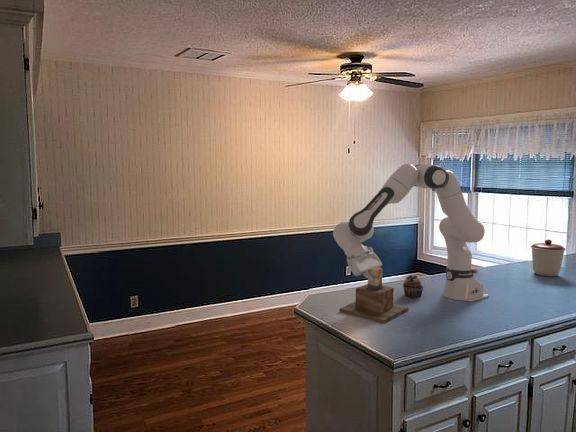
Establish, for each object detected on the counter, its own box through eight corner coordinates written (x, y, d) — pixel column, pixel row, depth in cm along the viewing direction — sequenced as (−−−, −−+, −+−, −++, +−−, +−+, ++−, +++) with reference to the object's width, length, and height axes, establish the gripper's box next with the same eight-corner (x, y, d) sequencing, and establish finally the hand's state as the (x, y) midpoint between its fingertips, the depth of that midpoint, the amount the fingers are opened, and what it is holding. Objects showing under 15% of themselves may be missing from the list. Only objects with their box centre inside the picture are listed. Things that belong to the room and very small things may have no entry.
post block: (365, 300, 220) (365, 279, 219) (408, 310, 206) (409, 287, 205) (339, 311, 203) (339, 288, 202) (384, 323, 189) (385, 298, 188)
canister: (564, 273, 277) (566, 238, 275) (563, 280, 262) (566, 243, 259) (530, 269, 287) (532, 236, 284) (527, 275, 271) (529, 240, 269)
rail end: (372, 290, 207) (373, 266, 205) (381, 292, 204) (382, 268, 203) (367, 292, 203) (368, 268, 202) (376, 294, 200) (377, 270, 199)
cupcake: (422, 299, 222) (423, 279, 221) (401, 297, 226) (402, 277, 224) (423, 294, 231) (424, 274, 230) (403, 292, 235) (404, 273, 233)
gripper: (349, 253, 198) (368, 279, 193) (373, 247, 214) (391, 271, 208) (340, 262, 201) (359, 288, 196) (364, 255, 217) (382, 279, 212)
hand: (376, 279), depth 203 cm, fingers closed on rail end, 4 cm apart
